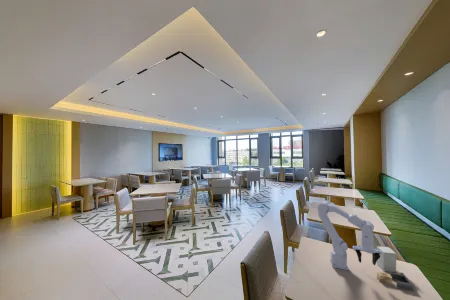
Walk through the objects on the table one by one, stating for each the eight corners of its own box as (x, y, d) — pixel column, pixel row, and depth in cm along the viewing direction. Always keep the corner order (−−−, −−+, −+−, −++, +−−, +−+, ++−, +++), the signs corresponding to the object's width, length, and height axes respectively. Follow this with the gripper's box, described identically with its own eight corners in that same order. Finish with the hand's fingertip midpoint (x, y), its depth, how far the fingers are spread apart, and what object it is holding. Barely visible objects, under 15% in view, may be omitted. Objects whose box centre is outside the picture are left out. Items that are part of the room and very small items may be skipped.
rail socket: (397, 287, 103) (397, 282, 102) (388, 275, 112) (388, 270, 112) (413, 291, 100) (413, 285, 100) (402, 278, 109) (403, 272, 109)
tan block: (379, 281, 107) (379, 275, 107) (377, 277, 110) (377, 271, 110) (391, 284, 105) (392, 277, 105) (389, 280, 108) (389, 274, 108)
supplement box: (396, 272, 114) (397, 253, 114) (383, 271, 116) (383, 252, 115) (388, 264, 121) (389, 246, 121) (376, 263, 123) (376, 245, 122)
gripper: (355, 243, 109) (355, 264, 109) (384, 247, 104) (384, 269, 104) (351, 237, 115) (351, 257, 116) (379, 241, 110) (378, 262, 111)
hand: (366, 262), depth 111 cm, fingers open, 7 cm apart
